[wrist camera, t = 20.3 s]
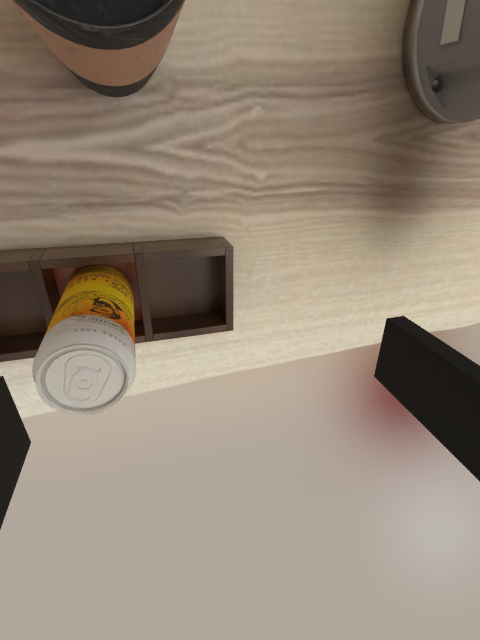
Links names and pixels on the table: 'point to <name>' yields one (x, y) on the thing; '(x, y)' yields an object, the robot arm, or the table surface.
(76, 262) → the rack
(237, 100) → the table surface
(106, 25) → the travel mug
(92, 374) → the beer can
